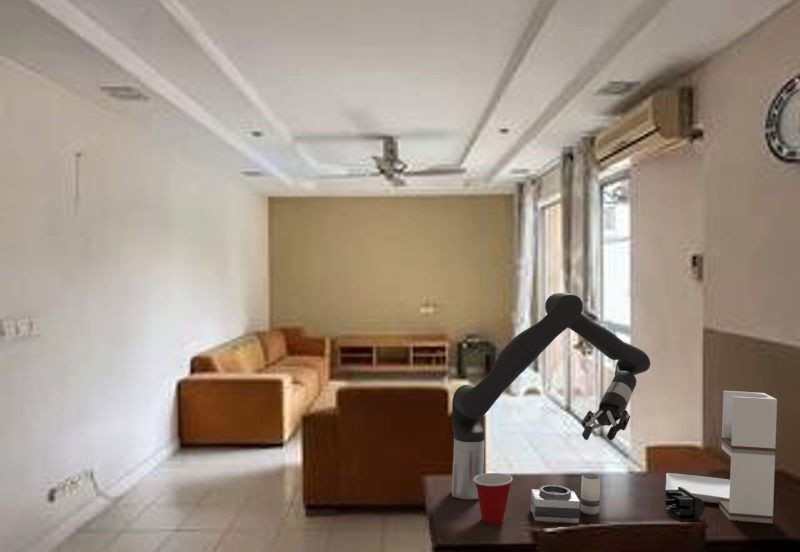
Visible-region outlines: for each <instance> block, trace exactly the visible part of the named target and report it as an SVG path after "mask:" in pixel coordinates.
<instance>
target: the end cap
mask: <svg viewBox="0 0 800 552" xmlns="http://www.w3.org/2000/svg"><path fill="white" fill-rule="evenodd" d="M665 496H666V497H669V496H672V497H674V496H675V497H674V498H673V499H665V501H664V503H665V507H666V508H665V511H666V512H667V513H669V514H670V515H672V516H673V517H675V518H676V519H677V520H679V521H681V520H693V521H696V520H697V519H699V518H701V517H702V516H703V515H704V513H705V509H706V506H705V502H703V501H702V500H701V499H700V498H698V497H697V496H695V495H693V494H692V493H690V492H689V491H687V490H686V489H684V488H682V487H678V490H665Z"/></svg>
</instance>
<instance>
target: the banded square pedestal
mask: <svg viewBox="0 0 800 552" xmlns="http://www.w3.org/2000/svg"><path fill="white" fill-rule="evenodd" d="M530 499H531V500H530V511H531V514H532V516H533V519H534V521H536V522H547V523H548V522H550V523H553V522H554V523H566V524H567V523H568V524H570V523H572V524H579V523H580V513H581V500H580V499H579V498H578V495H577V494H576V492H575V491H573V490H571V489H570V488H568V487H565V486H561V485H555V484H553V485H551V484H549V485H548V484H547V485H542V486H540V487H539V488H538V489H535V488H534V489H533V488H532V489H531V498H530Z"/></svg>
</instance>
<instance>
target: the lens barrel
mask: <svg viewBox="0 0 800 552" xmlns="http://www.w3.org/2000/svg"><path fill="white" fill-rule="evenodd" d="M580 488H581V489H580V512H581V511H582V512H581V513H583V514H586V513H587V514H586V515H597V514H599V513H600V502H601V501H600V500H601V499H600V498H601V497H600V496H601V493H600V492H601V477H600V476H599V475H596V474H591V473H587V474H586V473H585V474H582V475H581V485H580Z"/></svg>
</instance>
